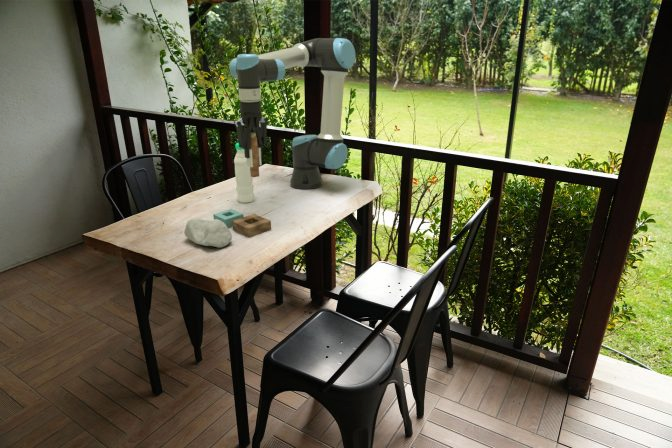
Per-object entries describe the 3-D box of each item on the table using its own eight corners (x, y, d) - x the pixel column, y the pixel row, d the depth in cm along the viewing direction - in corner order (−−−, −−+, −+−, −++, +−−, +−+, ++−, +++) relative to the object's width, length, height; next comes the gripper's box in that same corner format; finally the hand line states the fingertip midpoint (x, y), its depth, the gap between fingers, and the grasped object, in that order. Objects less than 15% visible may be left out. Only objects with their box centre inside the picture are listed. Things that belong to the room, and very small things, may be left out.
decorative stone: (239, 233, 162) (224, 216, 154) (226, 257, 157) (210, 241, 150) (203, 227, 170) (187, 211, 163) (189, 250, 166) (172, 234, 158)
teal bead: (232, 217, 183) (231, 208, 182) (244, 222, 178) (243, 213, 176) (214, 222, 178) (213, 214, 176) (225, 228, 173) (225, 219, 171)
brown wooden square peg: (256, 174, 177) (253, 132, 171) (261, 175, 175) (258, 133, 169) (248, 175, 175) (246, 133, 169) (253, 177, 173) (251, 134, 167)
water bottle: (250, 203, 197) (246, 145, 187) (235, 202, 198) (229, 144, 189) (256, 198, 203) (252, 141, 194) (241, 197, 205) (236, 140, 195)
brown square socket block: (255, 222, 178) (254, 213, 176) (271, 229, 171) (270, 220, 170) (232, 229, 171) (231, 221, 170) (248, 237, 165) (248, 228, 163)
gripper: (236, 103, 157) (241, 171, 166) (275, 99, 167) (277, 163, 176) (224, 101, 162) (229, 167, 171) (262, 97, 172) (266, 160, 181)
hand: (254, 165), depth 173 cm, fingers closed on brown wooden square peg, 3 cm apart
